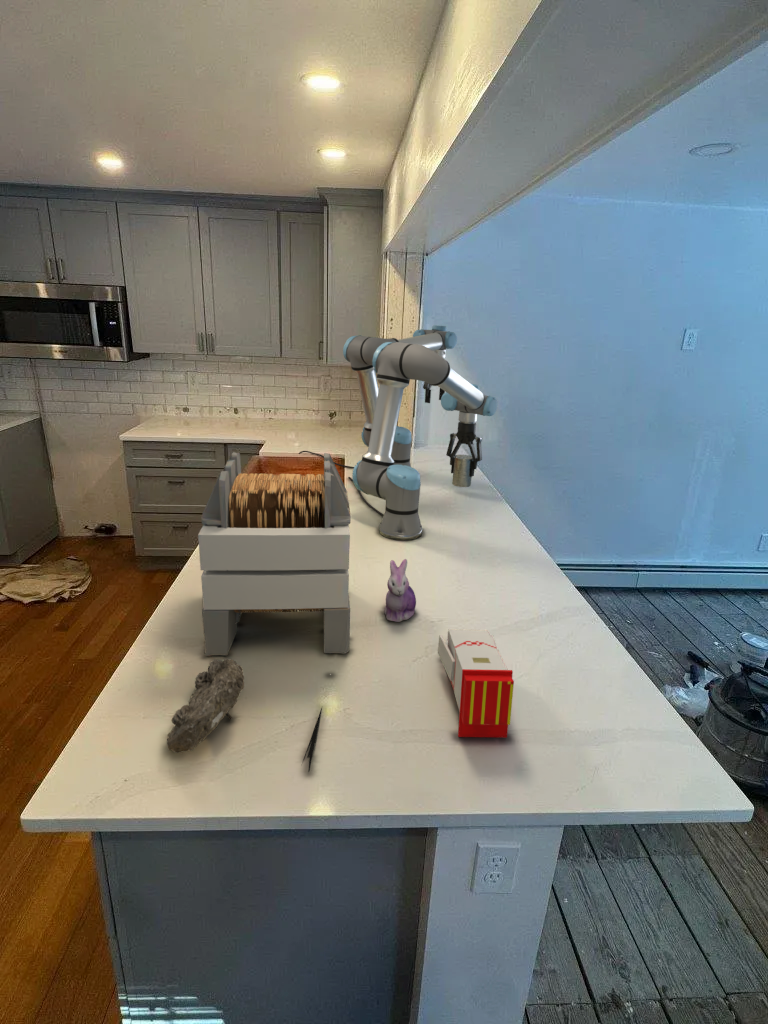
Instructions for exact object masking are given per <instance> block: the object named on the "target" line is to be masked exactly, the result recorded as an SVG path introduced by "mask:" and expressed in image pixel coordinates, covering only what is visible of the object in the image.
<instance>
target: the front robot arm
mask: <svg viewBox="0 0 768 1024" xmlns="http://www.w3.org/2000/svg"><path fill="white" fill-rule="evenodd" d="M372 363H373V367H374V371H375V373H376V379H377V383H378V389H379V391H378V397H377V402H376V408H375V413H374V419H373V424H372V430H371V435H370V441H369V446H368V448H367V451H366V453H364V454H363V455H362V457H361V459H360V460H358V461H357V462H356V464H355V465H354V466H353V467H354V468H352V469H353V470H352V475H351V476H352V477H350V476H348V479H349V480H350V481H351V482H352V483H353V485H354V486H355V488H356V490H357V492H358V494H359V496H360V498H361V500H363V502H364V503H365V504H366V505H367V506H368V507H369V508H371V509H372V510H373V511H375V512H376V513H377V514H379V515H380V516H381V517H382V519H381V522H379V525H378V533H379V534H380V535H381V536H382V537H385V538H387V539H389V540H395V541H410V540H415V539H418V538H420V537H421V536H422V535H423V525H422V524H421V518H420V515H419V507H420V506H419V505H420V496H421V495H420V494H421V482H422V481H421V474H420V471H418V470H417V468H414V467H413V466H411V467H410V466H406V465H404V466H403V465H398V464H397V465H394V460H393V459H392V457H391V453H392V448H393V443H394V438H395V432H396V427H397V426H398V421H399V416H400V411H401V405H402V401H403V395H404V390H405V389H407V388H408V387H409V386H410V381H411V380H413V381H420V382H423V383H424V382H427V383H429V384H430V385H432V386H431V387H438V388H439V389H440V388H441V389H443V390H444V391H445V393H444V394H443V395H442V397H441V400H440V406H441V407H442V409H443V410H445V411H446V412H447V411H448V412H454V411H457V412H458V423H457V432H456V433H454V432H452V433H450V434H449V442H448V447H447V449H446V457H449V465H450V467H451V468H450V474H453V468H454V458H455V455H457V453H458V452H459V450H460V448H461V446H462V445H466V446H468V449H469V451H470V456H472V458H473V461H472V462H471V471H470V477H472V478H473V477H474V476H475V470H476V469H477V468H478V462H481V461H483V450H482V442H483V437H482V436H477V435H476V431H477V420H478V416H483V417H492V416H494V415H495V414H496V412H497V410H498V406H499V402H498V399H497V398H496V397H494V396H492V395H487V394H485V393H483V392H482V391H480V389H481V388H480V386H479V384H475V383H471V382H469V381H468V380H467V379H465V378H464V377H463V376H462V375H460V374H459V373H458V372H456V371H455V369H453V368H451V364H450V362H448V360H447V359H445V358H443V357H441V356H440V355H438V354H437V353H436V352H434V351H432V350H431V349H429V348H427V347H425V346H422V345H419V344H409V343H401V342H385V343H383V344H382V345H381V346H379V347H378V348H377V350H376V351H375V353H374V356H373V361H372ZM456 438H457V442H456V444H455V440H456ZM474 441H475V442H476V446H474V445H475V443H474ZM454 444H455V446H454ZM475 447H476V449H475ZM362 493H364V494H365V495H369V496H372V497H375V498H379V499H381V500H384V501H385V504H384V505H385V507H384V508H385V509H384V513H382V512H381V511H380V510H378V509H377V508H375V507H374V506H373V505H371V504H370V503H369V502H368V501H367V500H366V499H365V497H364V496H363V494H362Z"/></svg>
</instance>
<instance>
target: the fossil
mask: <svg viewBox="0 0 768 1024" xmlns="http://www.w3.org/2000/svg"><path fill="white" fill-rule="evenodd" d="M243 670H244V669H243V667H242V665H240V664H237V662H236V661H235V660H234V659H232V658H231V659H227V658H226V659H224V660H223V661H222V660H217V659H212V660H211V661H210V663H209V665H208V666H207V671H201V672H199V673H198V674H197V675H196V676H195V680H194V684H195V685H194V687H195V689H194V690H193V693H192V694H191V697H190V698H189V700H188V704H184V705H182V706H181V707H180V709H177V710H176V711H175V713H174V715H173V716H172V718H171V723H172V724H173V727H172V730H171V731H170V732H168V734H167V738H166V741H167V742H166V745H167V749H168V750H169V751H173V752H174V753H176V754H178V753H182V752H188V751H189V752H192V751H193V750H195V748H196V747H197V746H199V744H200V743H201V742H203V741H204V740H205V739H206V738H207V737H208V736H209V735H210V734H211V733H212V732H214V730H215V729H217V727H218V726H219V724H220V722H221V721H222V720H223V719H224V718H225V716H226V717H227V719H229V720H233V717H232V715H230V714H229V710H230V709H231V708H234V706H235V704H236V703H237V702H238V699H239V697H240V695H241V693H242V691H243V690H245V689H244V688H245V675H244V671H243Z"/></svg>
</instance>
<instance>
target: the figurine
mask: <svg viewBox="0 0 768 1024" xmlns="http://www.w3.org/2000/svg"><path fill="white" fill-rule="evenodd" d="M407 567H408V559H406V558H404V559H403V560H402V561H401V563H400V565H399V566H398V565H397V563H396V562H395V561H394V560H393V559H391V560H390V561H389V570H390V576H389V578H388V579H387V589H388V591H387V592H386V594H385V595H386V596H385V607H384V615H385V616H386V620H387V621H391V622H395V623H400V622H402V621H406V620H409V619H410V618H411V617H413V616H414V615H415V610H416V606H417V597H416V593H415V591H414V590H413V587H411V586H410V582H409V579H408V577H407V574H406V571H407Z"/></svg>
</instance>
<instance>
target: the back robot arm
mask: <svg viewBox="0 0 768 1024" xmlns="http://www.w3.org/2000/svg"><path fill="white" fill-rule="evenodd" d="M385 342H401V343H409V344H419V345H422V346H425V347H427V348H429V349H431V350H432V351H434V352H436V353H437V354H438V355H440V356H441V357H443V358H444V359H445V358H446V355H447V350H452V349H454V348H456V346H457V344H458V336H457V334H456V333H455V332H453V331H450V330H449V331H448V327H447V326H446V325H435V324H434V325H433V326H432V327H431V329H422V328H421V329H416V330H415V331H414V332H413V333H412V336H411V337H404V338H399V339H398V338H396V337H392V338H383V337H377V336H375V337H374V336H366V335H360V334H358V335H352V336H350V337H349V338H347V339H346V341H345V343H344V345H343V348H342V355H343V357H344V359H345V360H346V361H347V362H349V363H350V369H351V370H352V371H353V372H354V373H355V375H356V379H357V384H358V390H359V395H360V398H361V403H362V408H363V412H364V417H365V418H364V419H365V422H364V423H363V428H362V431H361V435H360V436H361V441H362V443H363V444H364V445H365V446H366V447H368V446H369V441H370V435H371V430H372V424H373V419H374V413H375V408H376V402H377V397H378V391H379V383H378V381H377V379H376V378H377V373H376V372H375V371H374V367H373V363H372V361H373V356H374V353H375V351H376V350H377V348H378V347H379V346H381V345H382V344H383V343H385ZM432 387H433V386H432V385H430V384H429V383H427V382H424V381H423V385H422V389H423V390H425V392H424V404H430V403H431V398H432V397H431V396H432V389H431V388H432ZM444 393H446V392H445V391H444V390H443V389H441V388H440V387H439V393H438V401H441V397H442V395H443V394H444ZM412 443H413V438H412V431H411V430H410V429H409V428H406V427H404V426H399V425H397V427H396V432H395V438H394V443H393V448H392V453H391V457H392V459H393V460H394V465H397V464H398V465H403V466H404V465H406V466H410V467H412V465H411V464H412V463H411V453H412ZM302 453H306V454H311V455H315V456H319V457H321V458H323V459H324V454H320V453H317V452H312V451H310V450H309V451H308V450H301V451H299V452H298V453H297V454H298V455H300V454H302ZM333 462H334V464H335V466H339V467H342V468H347V469H354V467H355V466H349V465H344V464H342V463H341V464H340V463H338V462H335V461H333Z"/></svg>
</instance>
